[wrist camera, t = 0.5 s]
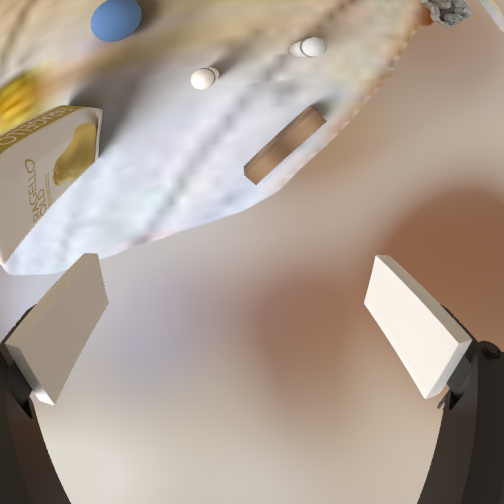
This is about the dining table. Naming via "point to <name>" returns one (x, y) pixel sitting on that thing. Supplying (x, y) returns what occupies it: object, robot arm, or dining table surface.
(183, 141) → the dining table surface
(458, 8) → the egg carton
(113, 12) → the ball
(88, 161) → the juice carton
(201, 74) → the white pin
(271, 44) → the dining table surface
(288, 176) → the dining table surface
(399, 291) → the robot arm
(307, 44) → the white rounded rod
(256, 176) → the wall
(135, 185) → the dining table surface
